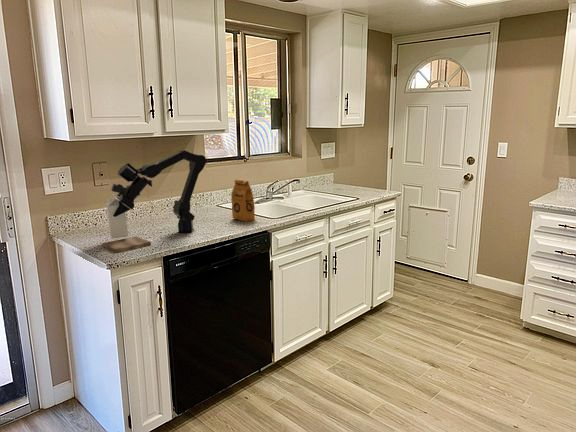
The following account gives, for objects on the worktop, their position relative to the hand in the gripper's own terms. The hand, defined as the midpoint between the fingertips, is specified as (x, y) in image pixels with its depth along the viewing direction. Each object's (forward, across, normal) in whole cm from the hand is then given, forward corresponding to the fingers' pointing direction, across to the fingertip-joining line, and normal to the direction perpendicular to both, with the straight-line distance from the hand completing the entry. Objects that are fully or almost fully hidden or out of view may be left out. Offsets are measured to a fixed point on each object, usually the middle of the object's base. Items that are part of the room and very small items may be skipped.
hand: (113, 214), depth 196 cm
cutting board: (+7, +8, +12) cm, 16 cm away
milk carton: (+6, 0, +8) cm, 11 cm away
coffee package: (-37, -16, +58) cm, 71 cm away
